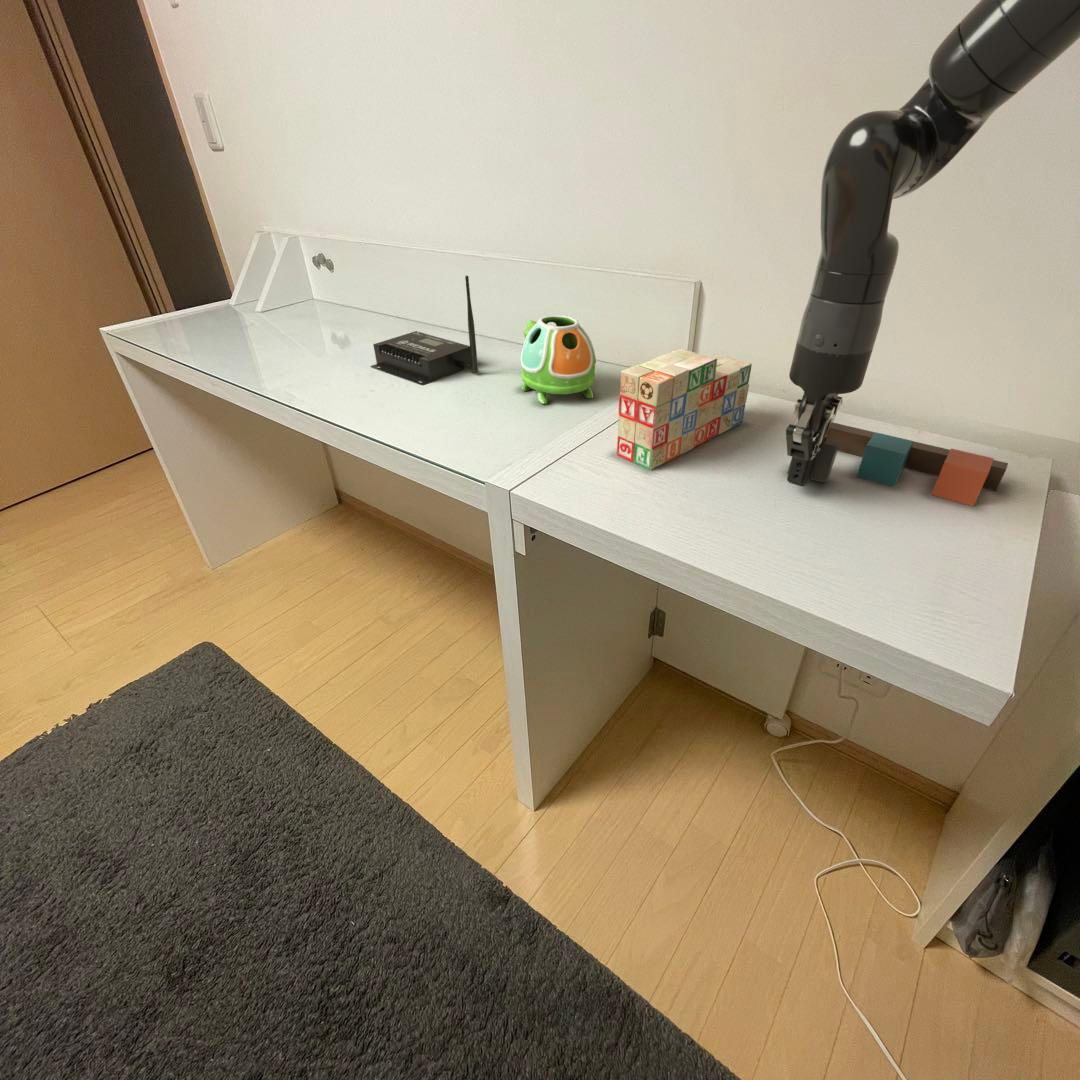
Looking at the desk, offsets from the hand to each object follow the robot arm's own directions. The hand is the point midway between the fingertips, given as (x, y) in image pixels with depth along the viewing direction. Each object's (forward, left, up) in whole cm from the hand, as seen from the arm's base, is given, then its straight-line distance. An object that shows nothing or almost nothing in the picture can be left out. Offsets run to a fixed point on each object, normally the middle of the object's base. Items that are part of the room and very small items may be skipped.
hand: (797, 481), depth 75 cm
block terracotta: (-16, -11, -2) cm, 19 cm away
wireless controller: (+71, -6, -2) cm, 71 cm away
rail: (-8, -16, -2) cm, 18 cm away
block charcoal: (0, -3, -1) cm, 3 cm away
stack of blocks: (+18, -6, -2) cm, 19 cm away
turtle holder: (+45, -11, -2) cm, 47 cm away
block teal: (-7, -11, -2) cm, 13 cm away
